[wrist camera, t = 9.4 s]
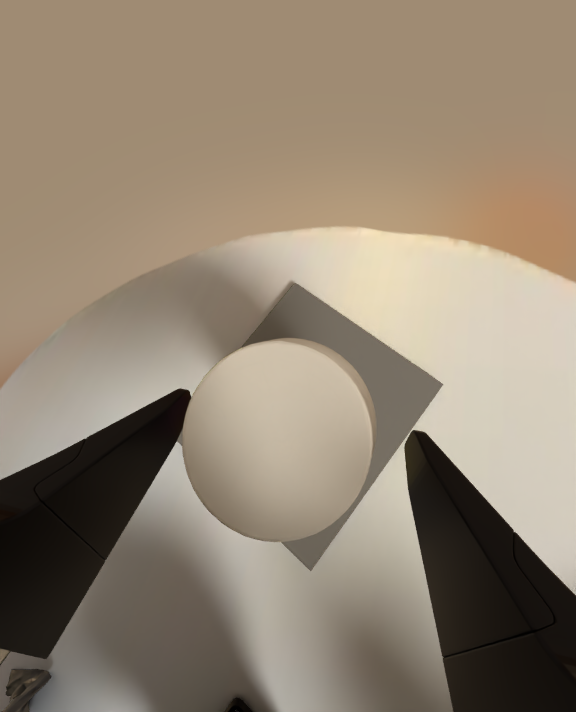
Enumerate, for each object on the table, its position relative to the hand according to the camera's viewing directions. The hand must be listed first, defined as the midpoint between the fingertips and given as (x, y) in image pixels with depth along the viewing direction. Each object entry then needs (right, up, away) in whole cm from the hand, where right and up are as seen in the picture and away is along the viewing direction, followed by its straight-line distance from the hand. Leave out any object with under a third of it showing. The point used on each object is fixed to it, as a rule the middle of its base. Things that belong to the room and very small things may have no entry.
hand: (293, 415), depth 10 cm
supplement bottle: (+1, -2, +9) cm, 9 cm away
